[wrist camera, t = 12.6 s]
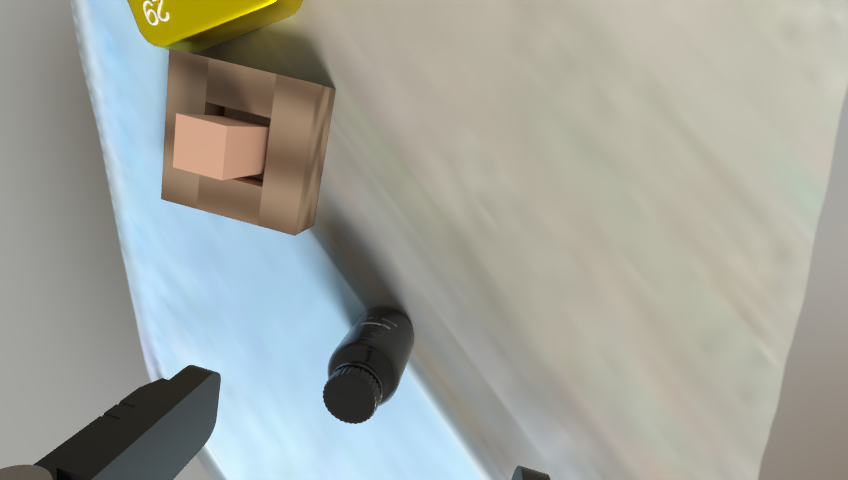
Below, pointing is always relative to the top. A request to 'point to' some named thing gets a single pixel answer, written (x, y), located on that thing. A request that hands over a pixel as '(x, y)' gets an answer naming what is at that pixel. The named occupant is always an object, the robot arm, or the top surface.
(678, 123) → the top surface
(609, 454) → the top surface
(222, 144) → the terracotta peg
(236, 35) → the element tile
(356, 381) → the supplement bottle
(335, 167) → the top surface
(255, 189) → the walnut base
